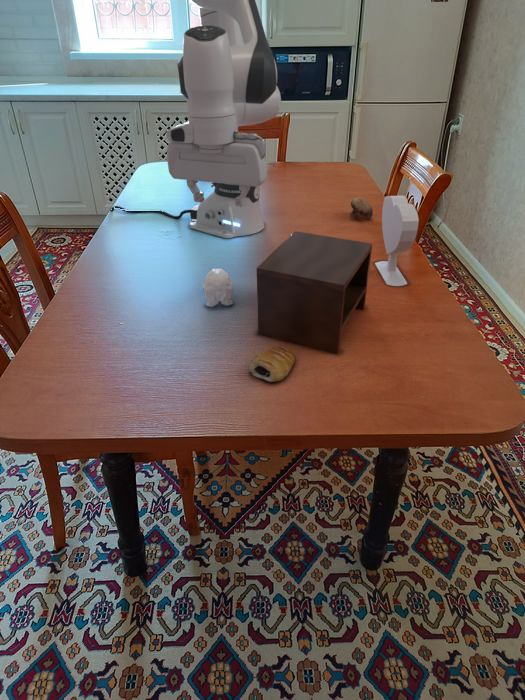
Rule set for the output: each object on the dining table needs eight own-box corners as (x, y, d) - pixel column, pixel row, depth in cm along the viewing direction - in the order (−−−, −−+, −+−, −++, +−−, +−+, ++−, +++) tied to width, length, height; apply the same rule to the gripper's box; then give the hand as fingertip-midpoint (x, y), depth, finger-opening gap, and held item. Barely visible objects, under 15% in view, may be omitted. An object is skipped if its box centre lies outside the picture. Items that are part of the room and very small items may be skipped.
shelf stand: (258, 334, 100) (256, 267, 91) (293, 291, 114) (294, 230, 105) (337, 354, 94) (344, 285, 85) (364, 307, 108) (372, 243, 99)
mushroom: (341, 209, 147) (354, 192, 145) (346, 211, 155) (359, 194, 152) (361, 226, 146) (375, 209, 144) (365, 227, 154) (378, 211, 151)
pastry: (274, 349, 95) (274, 333, 93) (304, 361, 92) (305, 345, 90) (246, 374, 89) (245, 358, 87) (277, 388, 86) (277, 371, 84)
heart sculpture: (410, 287, 115) (424, 213, 104) (389, 288, 114) (400, 214, 104) (391, 258, 127) (402, 189, 117) (372, 259, 127) (381, 190, 116)
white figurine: (201, 276, 102) (202, 256, 112) (205, 312, 106) (205, 290, 117) (232, 274, 102) (229, 255, 113) (234, 310, 107) (231, 289, 117)
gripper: (271, 130, 90) (272, 204, 98) (175, 124, 97) (184, 194, 105) (257, 137, 85) (260, 214, 93) (158, 131, 92) (169, 203, 100)
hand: (219, 203), depth 99 cm, fingers open, 8 cm apart
